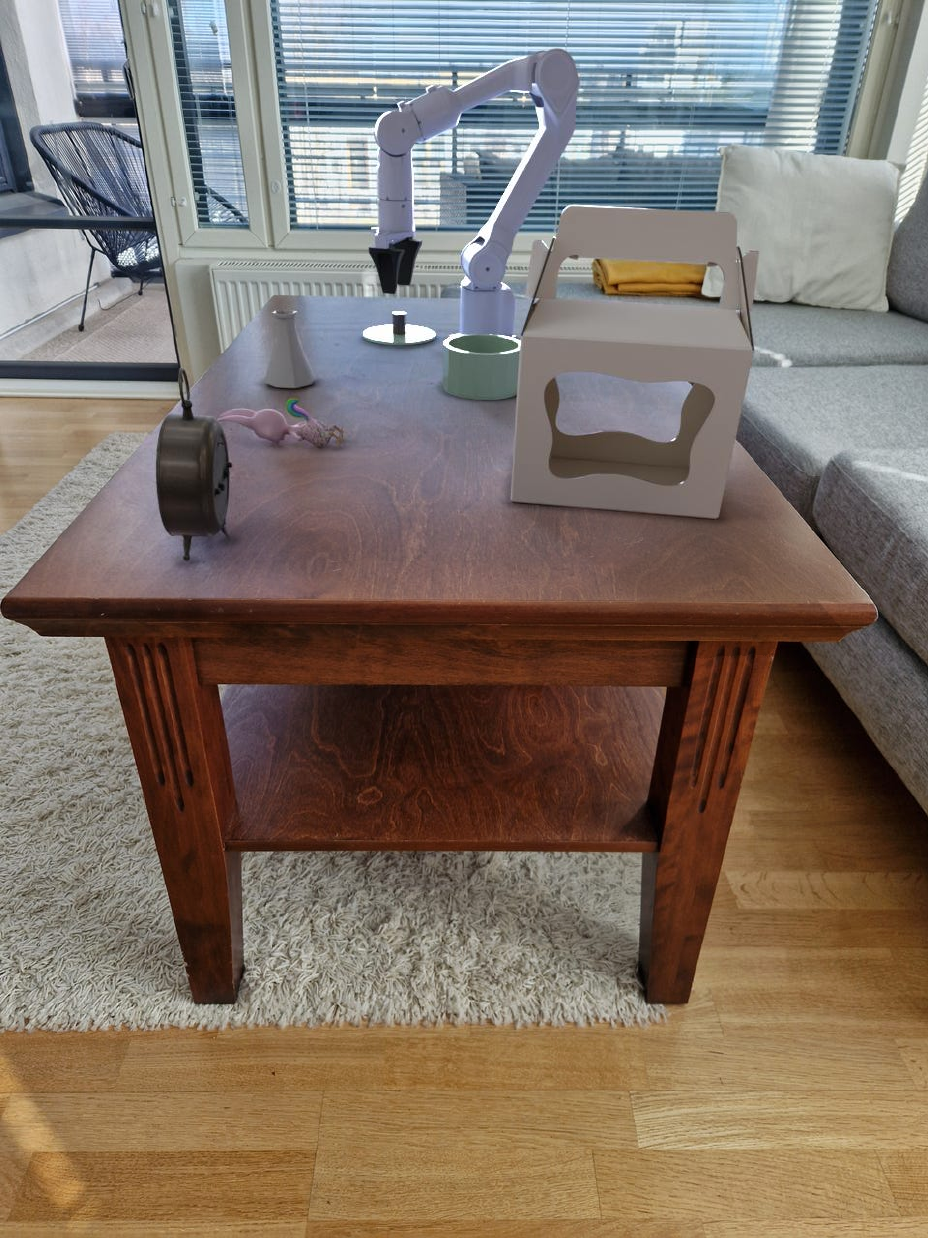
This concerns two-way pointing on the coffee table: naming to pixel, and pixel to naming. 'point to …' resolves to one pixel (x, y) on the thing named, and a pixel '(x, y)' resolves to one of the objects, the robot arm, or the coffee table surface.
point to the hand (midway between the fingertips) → (396, 288)
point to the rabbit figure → (284, 425)
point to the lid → (399, 332)
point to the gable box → (634, 366)
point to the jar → (481, 366)
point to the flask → (288, 355)
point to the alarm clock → (192, 473)
